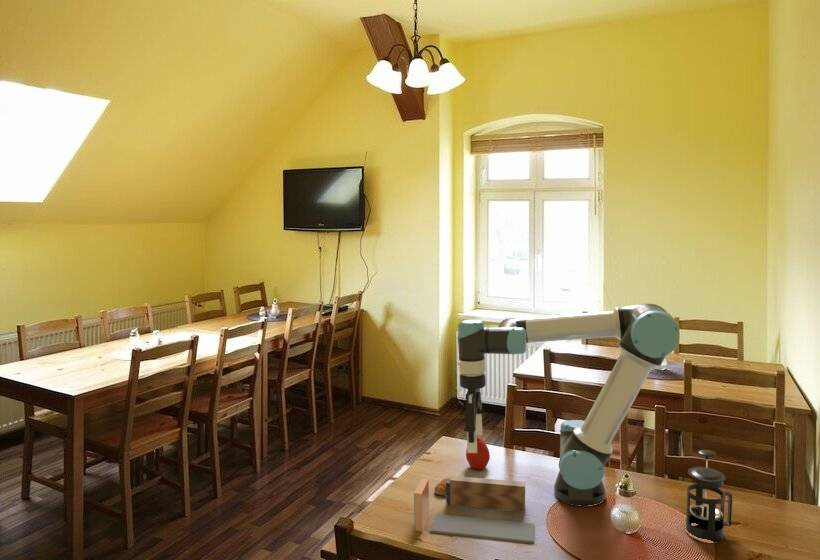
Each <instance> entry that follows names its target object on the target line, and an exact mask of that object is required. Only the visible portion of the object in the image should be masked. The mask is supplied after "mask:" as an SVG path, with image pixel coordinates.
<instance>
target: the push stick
mask: <svg viewBox="0 0 820 560" xmlns="http://www.w3.org/2000/svg"><path fill="white" fill-rule="evenodd" d="M450 477H451V478H449V477H447V478H448V479H447V482H446V495H445V499H446V500H445V501H446V503H449V504H450V506H456V505H459V506H458V507H466V506H467V508H477V509H478V508H479V509H485V510H486V509H487V510H488V509H489V510H497V511H508V512H515V513H516V512H517V513H526V481H516V480H507V479H495V478H483V477H482V478H481V477H472V476H459V475H451V476H450Z"/></svg>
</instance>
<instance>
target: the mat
mask: <svg viewBox="0 0 820 560" xmlns="http://www.w3.org/2000/svg"><path fill="white" fill-rule="evenodd" d="M535 525H536V524H535V523H532V522H524V521H512V520H511V521H510V520H503V519H492V518H481V517H471V516H464V515H463V516H462V515H452V514H451V515H450V514H442V513H441V514H440V513H436V514H435V515H434V518H433V521H432V523H431V526H430V529H429V533H433V534H435V533H436V534H441V535H442V534H444V535H450V536H451V535H452V536H461V537H469V538H470V537H472V538H479V539H489V540H491V539H492V540H499V541H509V542H517V543H527V544H534V541H535Z"/></svg>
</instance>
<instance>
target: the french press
mask: <svg viewBox="0 0 820 560" xmlns="http://www.w3.org/2000/svg"><path fill="white" fill-rule="evenodd" d="M698 454H699V455H701V456H703V457H704V459H705V460H706V461H705V466H693V467H690V468H689V469H688V470H687V474H688V475H689V477H690V478H692V479H693V480H694V482H695V483H692V484H690V485H688V486H687V489H686V494H687V495H686V519H685V527H686V529H687V531H688V532H689V533H691V534H692V535H694V536H696V537H698V538H702V539H707V540H711V541H713V542H720V541H722V540H723V539H724V540H725V534H724V529H725V527H731V526H732V516H733V515H732V511H733V510H732V509H733V495H732V493H731V492H730V491H725V490H724V491H723V490H722V489H721V488H722V487H724V483H725V481H726V475H725V474H724V473H723V472H722V471H719V470H717V469H715V468H711V467H708V462H709V461H708V460H710V457H711V458H713V457H717V453H716V452H715V451H713V450H709V449H699V450H698ZM691 490H695V494H694V493H691ZM707 491H711V492H714V493H716V494H718V495H720V498H715V499H711V498H709V499H708V498H707ZM703 495H704V497H703ZM726 496H727V516H726V517H727V518H726V519H727V521H725V520H724V517H725V515H724V514H725V501H726ZM691 499H692V500H693V501H695V503H693V504H691ZM717 505H720V509H719V508H717ZM691 523H696V524H698V525H700V526H699V527H704V528H707V530H706V529H701V528H699V527H697V526H695V527H694V526H692V525H691ZM724 540H723V541H724ZM723 541H722V542H723ZM720 543H721V542H720Z"/></svg>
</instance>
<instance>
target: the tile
mask: <svg viewBox="0 0 820 560" xmlns="http://www.w3.org/2000/svg"><path fill="white" fill-rule="evenodd" d="M429 483H430V482H429V478H421V479H420V480H419V482H418V483H417V486H416V488H415V490H414V492H413V503H414V504H413V508H414V510H413V513H414V530H415V532H420V533H421V532H423V531H424V529H425V527H426V524H427V522H428V519H429V517H430V492H429V491H430V490H429V489H430V487H429V486H430V485H429Z"/></svg>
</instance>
